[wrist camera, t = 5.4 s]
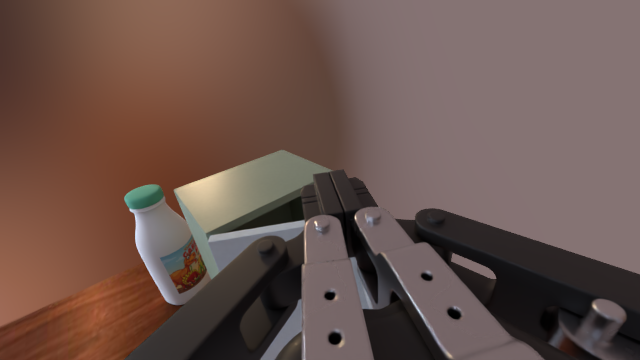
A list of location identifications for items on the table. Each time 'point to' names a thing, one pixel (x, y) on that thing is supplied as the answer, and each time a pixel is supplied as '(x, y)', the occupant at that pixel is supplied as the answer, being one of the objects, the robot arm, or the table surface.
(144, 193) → the milk bottle
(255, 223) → the cabinet
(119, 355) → the table surface
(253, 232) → the cabinet door
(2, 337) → the table surface
